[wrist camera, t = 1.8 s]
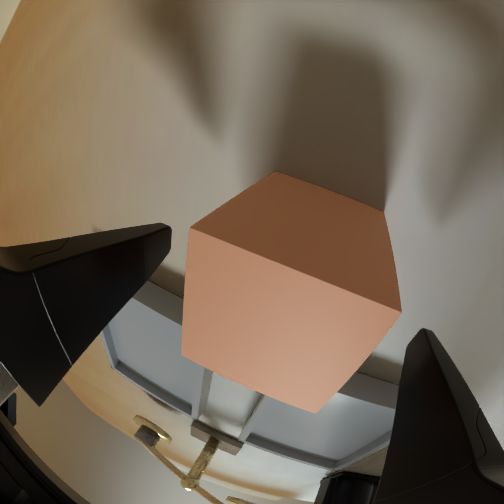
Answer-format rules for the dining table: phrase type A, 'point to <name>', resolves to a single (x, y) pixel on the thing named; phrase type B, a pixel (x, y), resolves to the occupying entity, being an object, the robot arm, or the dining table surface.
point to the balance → (214, 440)
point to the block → (288, 290)
